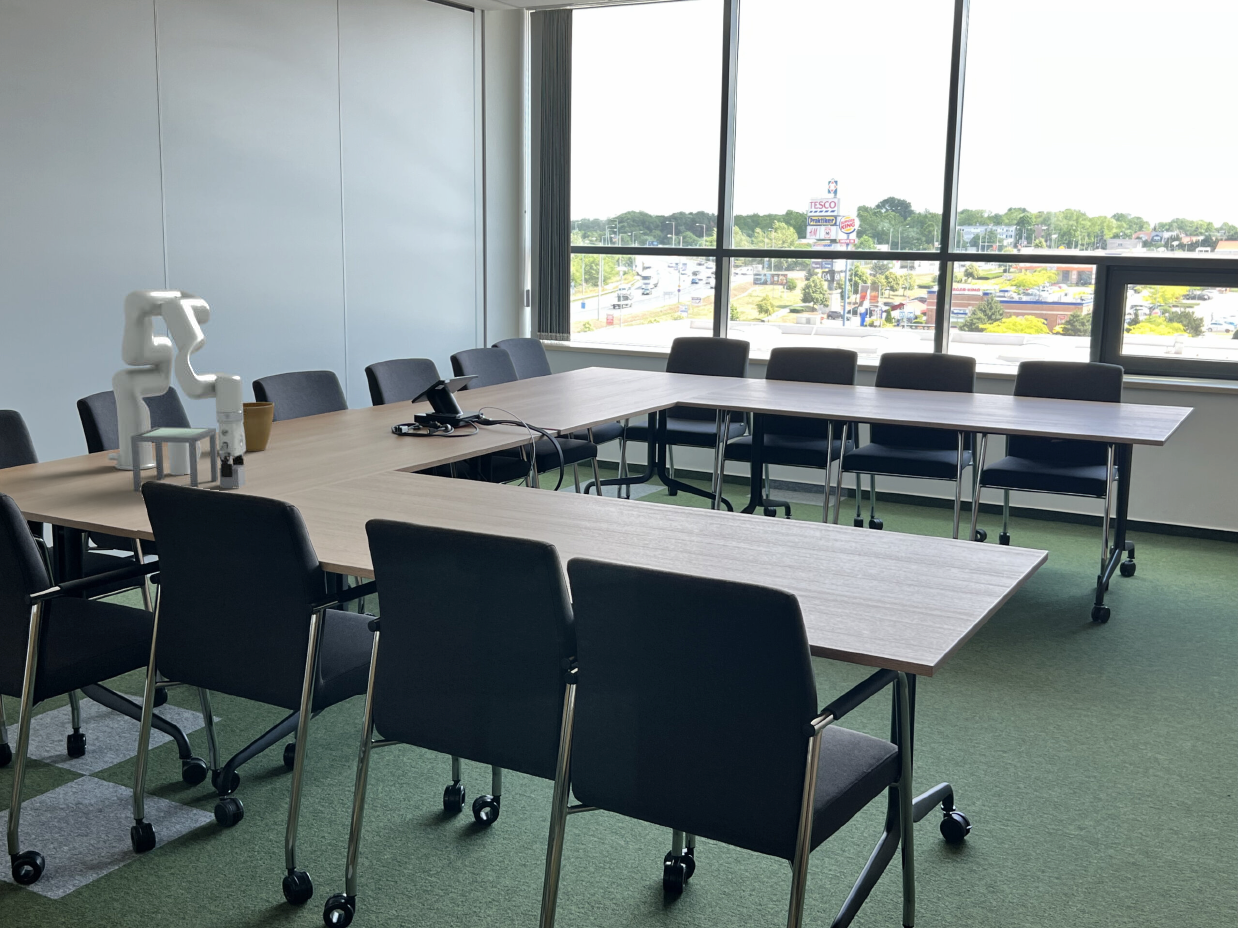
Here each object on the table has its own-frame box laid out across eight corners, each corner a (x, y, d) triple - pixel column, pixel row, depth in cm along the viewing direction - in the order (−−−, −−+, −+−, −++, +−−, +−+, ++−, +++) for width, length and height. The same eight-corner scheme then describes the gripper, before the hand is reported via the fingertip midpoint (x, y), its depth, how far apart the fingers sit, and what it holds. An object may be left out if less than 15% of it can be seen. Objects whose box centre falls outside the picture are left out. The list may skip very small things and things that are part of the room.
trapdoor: (141, 439, 330) (141, 435, 330) (161, 431, 344) (161, 428, 343) (189, 440, 330) (189, 436, 330) (207, 432, 344) (207, 429, 343)
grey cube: (220, 488, 338) (219, 468, 337) (226, 484, 343) (226, 464, 342) (238, 488, 338) (238, 468, 336) (245, 484, 343) (244, 465, 342)
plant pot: (275, 445, 410) (273, 401, 407) (276, 452, 396) (274, 406, 393) (231, 446, 405) (229, 402, 402) (231, 454, 391) (229, 407, 388)
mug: (174, 476, 352) (172, 438, 350) (166, 473, 357) (163, 435, 355) (206, 472, 359) (204, 435, 357) (197, 469, 364) (196, 432, 362)
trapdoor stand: (134, 490, 331) (130, 436, 328) (159, 478, 348) (156, 427, 345) (196, 492, 331) (193, 437, 328) (218, 480, 348) (215, 428, 345)
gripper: (232, 421, 328) (235, 479, 331) (252, 413, 345) (255, 469, 348) (206, 421, 328) (209, 479, 331) (227, 413, 345) (230, 468, 348)
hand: (233, 474), depth 339 cm, fingers open, 9 cm apart
